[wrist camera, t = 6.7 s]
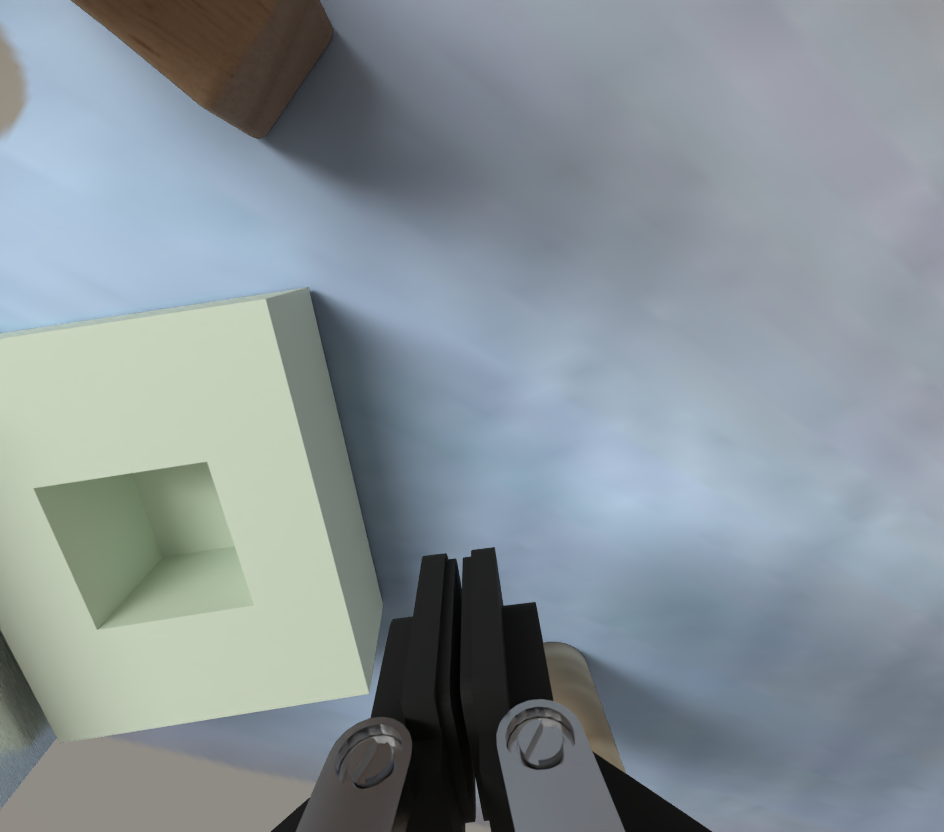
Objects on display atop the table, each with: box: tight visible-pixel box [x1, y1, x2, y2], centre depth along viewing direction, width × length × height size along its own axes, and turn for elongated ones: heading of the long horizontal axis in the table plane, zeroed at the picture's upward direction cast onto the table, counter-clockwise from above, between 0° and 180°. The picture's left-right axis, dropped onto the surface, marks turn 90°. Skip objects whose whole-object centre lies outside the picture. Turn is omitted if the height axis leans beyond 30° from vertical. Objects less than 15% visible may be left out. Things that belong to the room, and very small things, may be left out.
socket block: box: [0, 287, 383, 743], centre depth 19 cm, size 12×14×5 cm
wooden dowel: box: [543, 642, 626, 773], centre depth 21 cm, size 4×4×10 cm
